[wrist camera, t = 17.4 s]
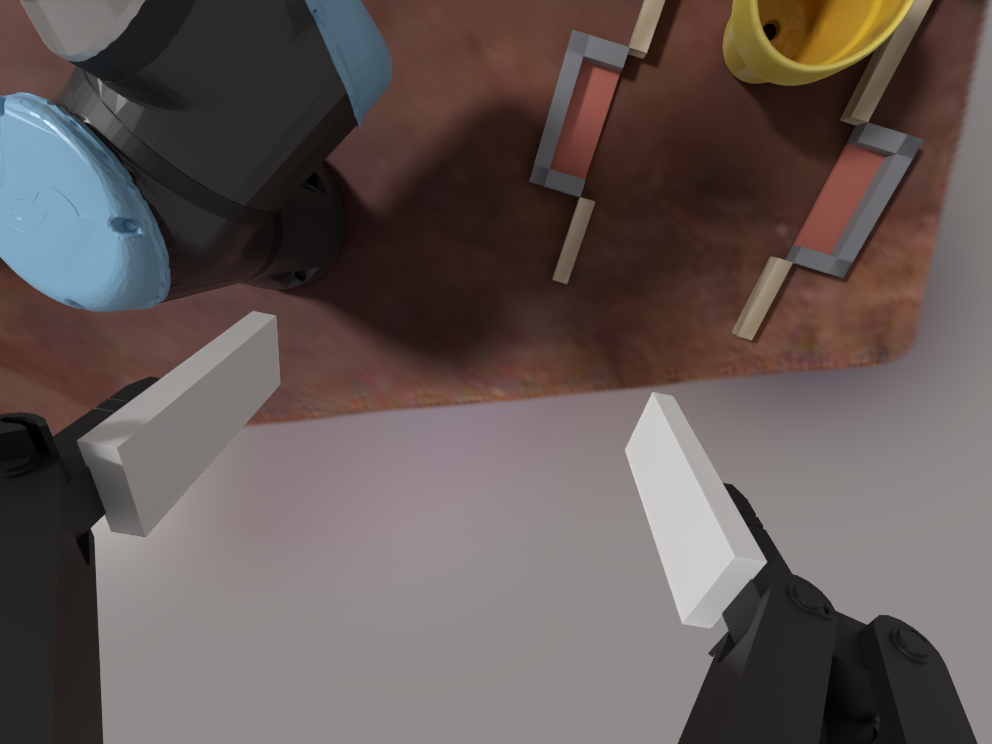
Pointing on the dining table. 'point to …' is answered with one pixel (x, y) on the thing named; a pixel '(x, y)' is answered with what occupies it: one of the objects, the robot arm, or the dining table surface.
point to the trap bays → (835, 215)
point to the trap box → (854, 114)
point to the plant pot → (806, 37)
